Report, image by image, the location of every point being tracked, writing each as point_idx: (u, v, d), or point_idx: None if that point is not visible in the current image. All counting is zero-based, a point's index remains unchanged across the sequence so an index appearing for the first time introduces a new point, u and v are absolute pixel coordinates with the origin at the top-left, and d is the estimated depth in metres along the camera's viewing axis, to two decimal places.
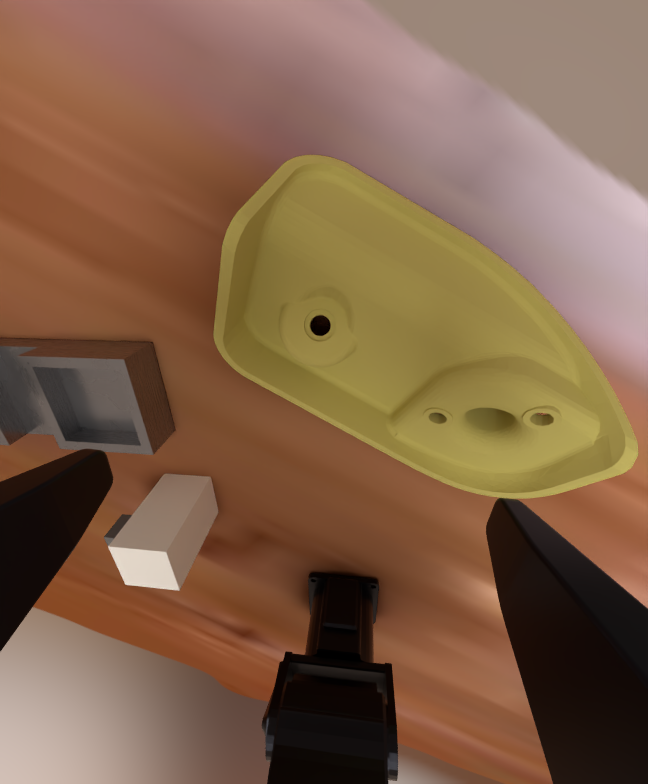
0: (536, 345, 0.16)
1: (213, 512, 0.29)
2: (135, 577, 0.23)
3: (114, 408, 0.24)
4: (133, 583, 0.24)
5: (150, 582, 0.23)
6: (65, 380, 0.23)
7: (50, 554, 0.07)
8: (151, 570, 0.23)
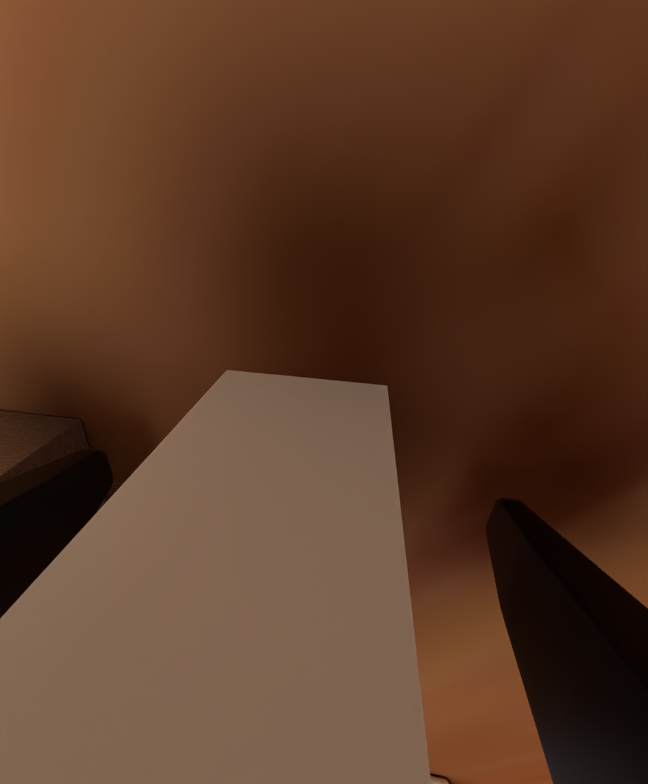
0: None
1: (352, 398, 0.08)
2: None
3: None
4: None
5: None
6: None
7: (50, 554, 0.07)
8: None
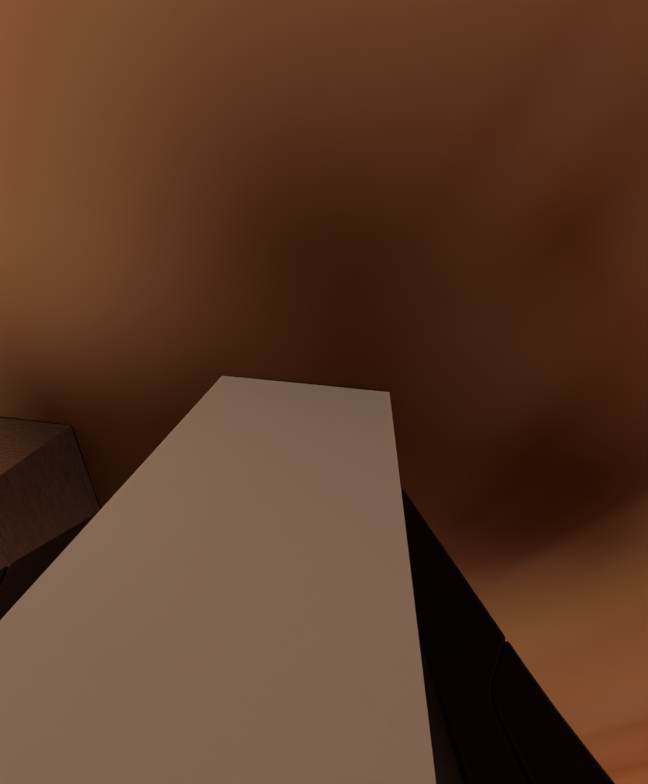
0: None
1: (353, 406, 0.07)
2: None
3: None
4: None
5: None
6: None
7: None
8: None
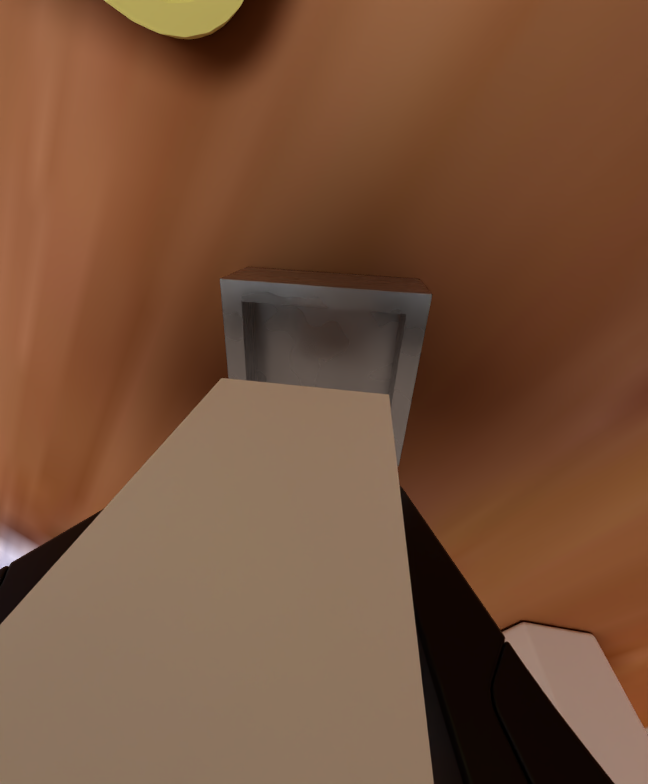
0: None
1: (352, 409, 0.07)
2: None
3: (345, 359, 0.14)
4: None
5: None
6: None
7: None
8: None
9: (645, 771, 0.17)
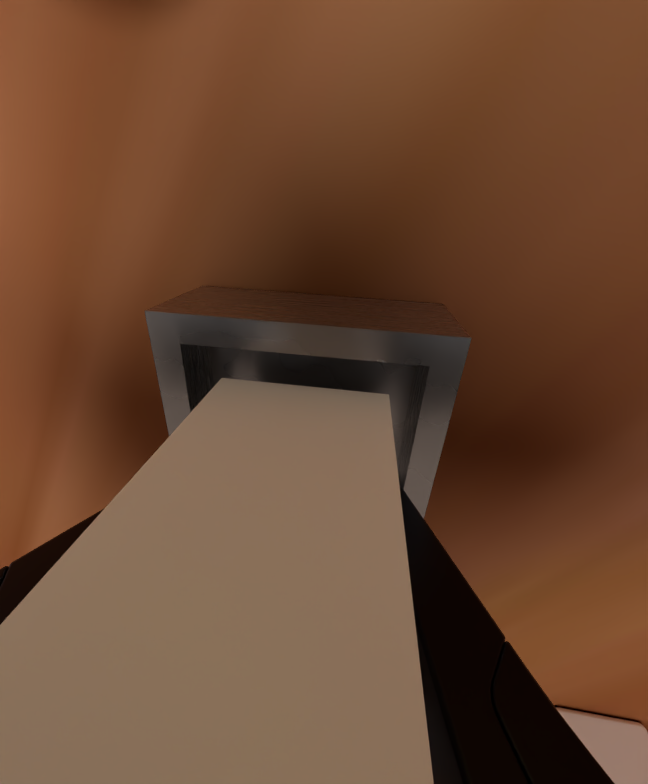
0: None
1: (352, 409, 0.07)
2: None
3: None
4: None
5: None
6: None
7: None
8: None
9: None
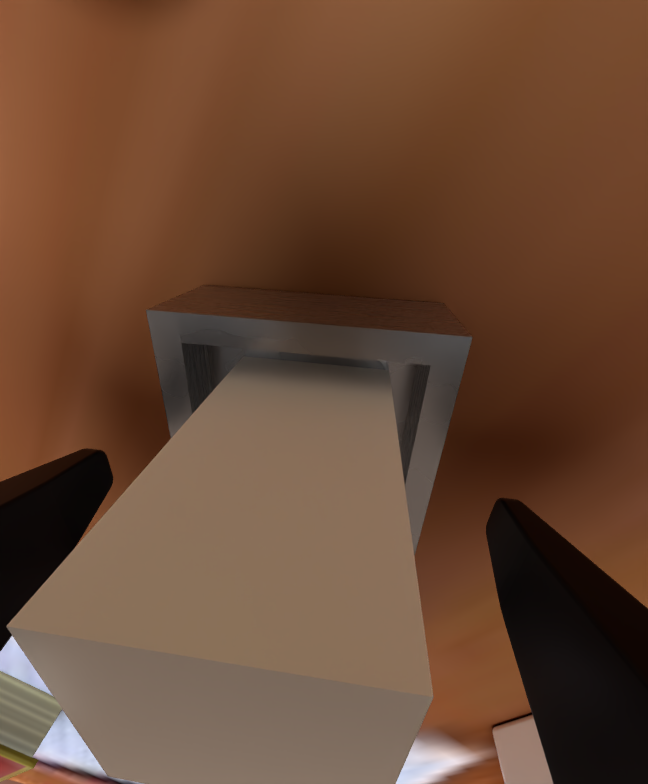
0: None
1: (358, 381, 0.08)
2: None
3: None
4: None
5: (347, 769, 0.04)
6: None
7: (50, 554, 0.07)
8: (229, 732, 0.04)
9: None
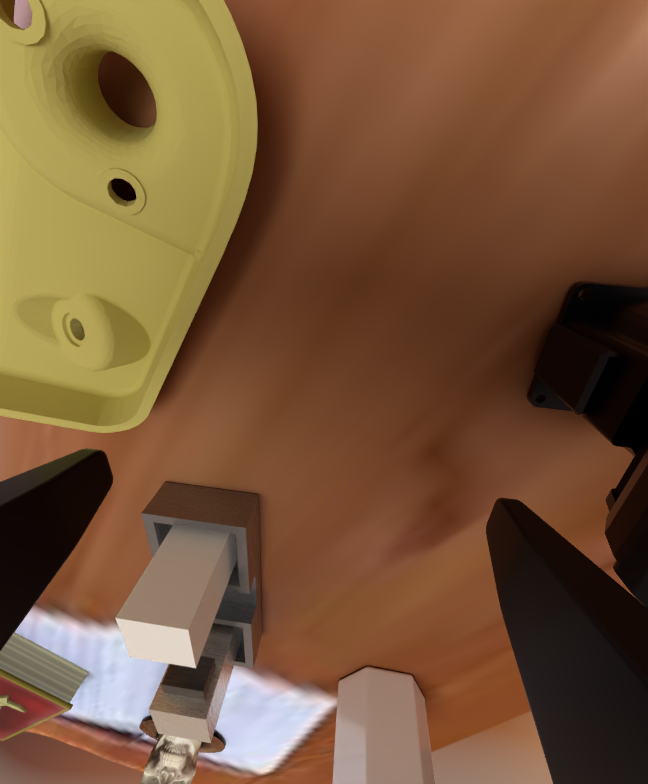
0: None
1: (218, 531, 0.23)
2: (177, 656, 0.19)
3: None
4: (191, 661, 0.19)
5: (182, 648, 0.19)
6: None
7: (50, 554, 0.07)
8: (157, 640, 0.19)
9: (407, 765, 0.28)
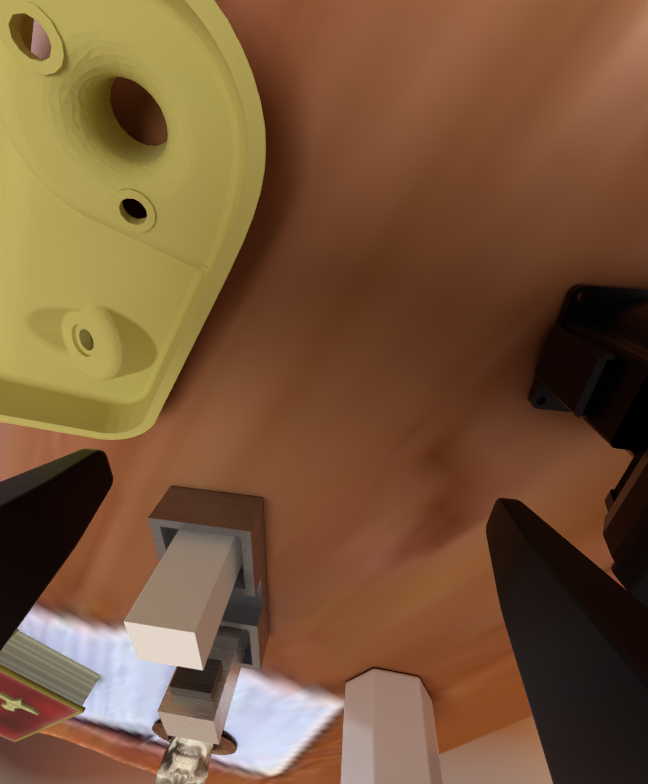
0: None
1: (223, 535, 0.24)
2: (185, 658, 0.20)
3: None
4: (198, 664, 0.20)
5: (189, 650, 0.19)
6: None
7: (50, 554, 0.07)
8: (164, 643, 0.19)
9: (414, 767, 0.28)
